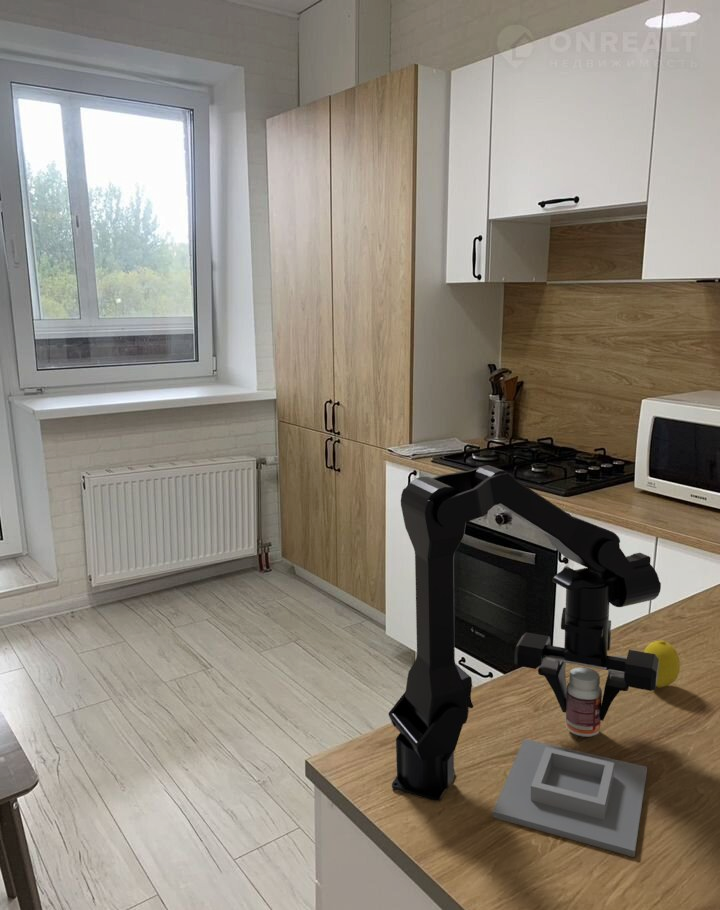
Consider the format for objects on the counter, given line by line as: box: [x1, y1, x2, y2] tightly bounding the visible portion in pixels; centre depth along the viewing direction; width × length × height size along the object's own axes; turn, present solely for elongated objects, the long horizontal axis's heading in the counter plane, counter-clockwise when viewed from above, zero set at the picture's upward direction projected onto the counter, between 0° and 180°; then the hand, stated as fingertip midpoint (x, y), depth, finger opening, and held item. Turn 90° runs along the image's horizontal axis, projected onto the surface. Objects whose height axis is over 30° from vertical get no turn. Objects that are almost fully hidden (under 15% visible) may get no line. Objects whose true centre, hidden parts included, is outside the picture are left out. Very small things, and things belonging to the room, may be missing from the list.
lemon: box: [643, 639, 681, 689], centre depth 113 cm, size 6×6×8 cm
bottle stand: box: [492, 738, 648, 858], centre depth 90 cm, size 16×16×3 cm
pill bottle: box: [565, 667, 603, 738], centre depth 102 cm, size 5×5×8 cm
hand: (583, 715), depth 102 cm, fingers closed on pill bottle, 5 cm apart
